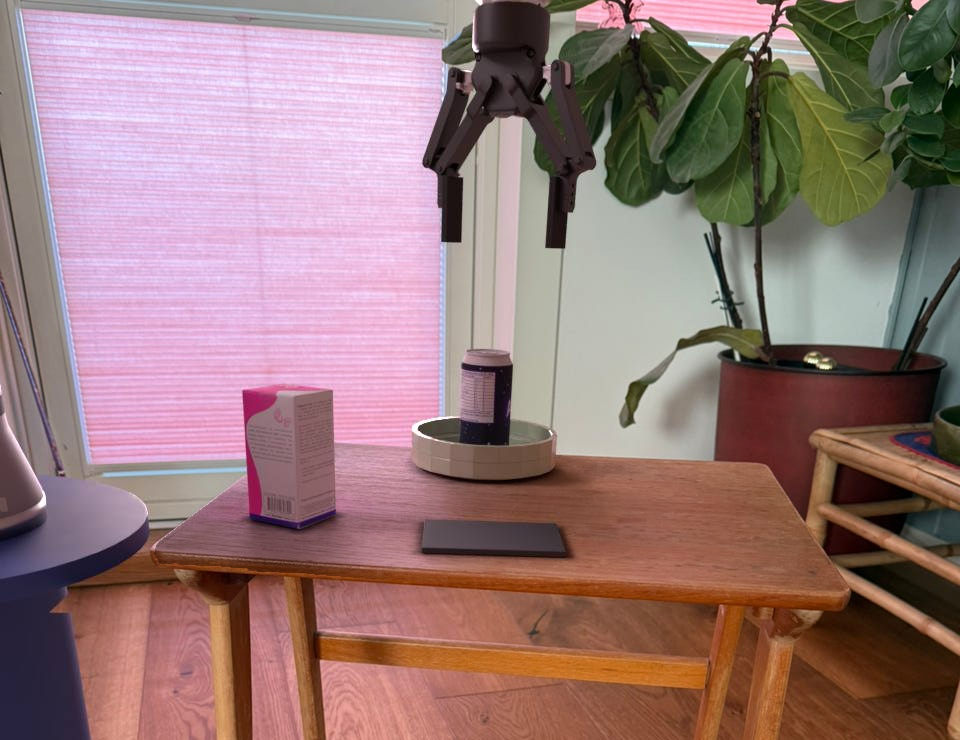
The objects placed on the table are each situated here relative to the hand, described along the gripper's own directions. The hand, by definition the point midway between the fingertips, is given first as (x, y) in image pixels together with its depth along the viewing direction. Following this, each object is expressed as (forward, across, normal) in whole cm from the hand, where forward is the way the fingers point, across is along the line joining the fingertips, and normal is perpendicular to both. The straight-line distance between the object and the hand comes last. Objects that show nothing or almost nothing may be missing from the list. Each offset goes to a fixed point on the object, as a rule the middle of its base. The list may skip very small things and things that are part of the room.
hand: (501, 245), depth 97 cm
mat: (+23, -18, +24) cm, 38 cm away
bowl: (+23, -1, +3) cm, 23 cm away
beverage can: (+23, -1, +3) cm, 23 cm away
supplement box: (+23, 0, +31) cm, 39 cm away
